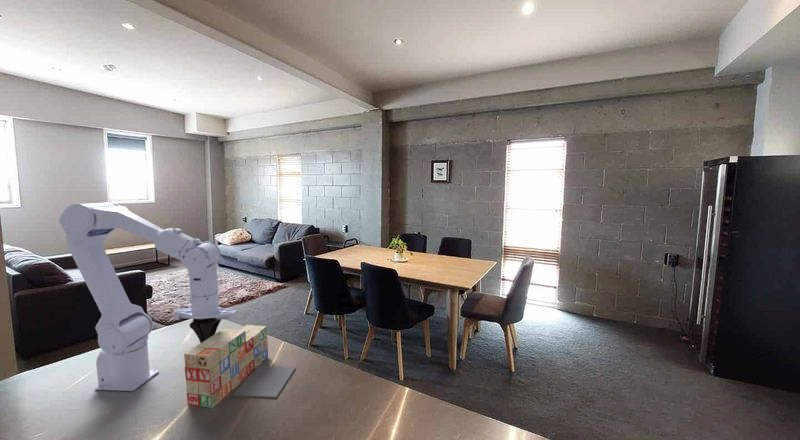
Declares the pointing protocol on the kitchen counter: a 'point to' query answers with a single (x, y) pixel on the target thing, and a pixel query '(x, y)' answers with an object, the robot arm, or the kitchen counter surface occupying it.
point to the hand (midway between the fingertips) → (207, 346)
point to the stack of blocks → (223, 363)
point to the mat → (265, 382)
